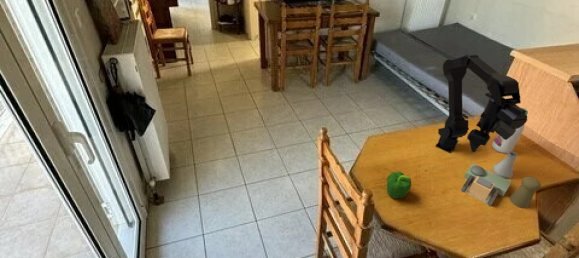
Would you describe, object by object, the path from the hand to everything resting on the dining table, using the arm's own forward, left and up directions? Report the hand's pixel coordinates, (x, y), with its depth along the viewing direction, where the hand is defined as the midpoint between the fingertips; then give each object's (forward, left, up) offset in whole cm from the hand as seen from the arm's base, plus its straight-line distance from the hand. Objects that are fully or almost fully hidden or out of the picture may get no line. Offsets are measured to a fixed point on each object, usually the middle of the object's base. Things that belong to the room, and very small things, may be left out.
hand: (477, 146), depth 120 cm
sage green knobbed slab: (+8, -2, -12) cm, 15 cm away
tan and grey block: (+8, -10, -12) cm, 17 cm away
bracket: (+8, -10, -12) cm, 18 cm away
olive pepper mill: (+20, -4, -12) cm, 24 cm away
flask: (+11, +8, -12) cm, 18 cm away
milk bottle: (+6, +24, -12) cm, 28 cm away
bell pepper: (-14, -32, -12) cm, 37 cm away
